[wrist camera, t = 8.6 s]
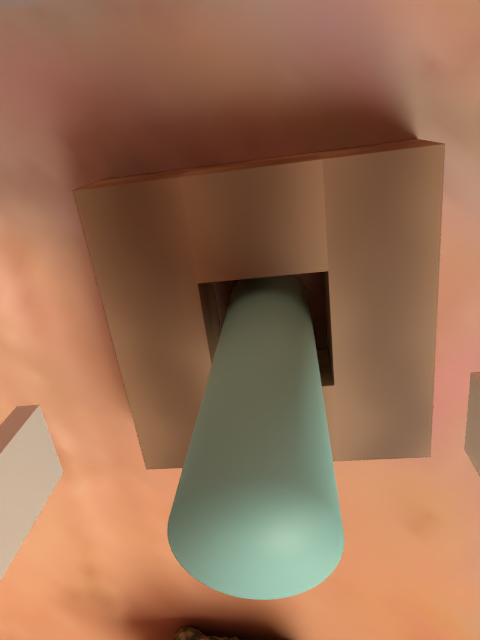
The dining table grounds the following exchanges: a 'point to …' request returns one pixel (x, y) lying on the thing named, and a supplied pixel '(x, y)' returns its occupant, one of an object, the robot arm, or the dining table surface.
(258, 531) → the long dowel
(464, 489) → the dining table surface
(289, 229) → the hole block
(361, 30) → the dining table surface
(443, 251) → the dining table surface
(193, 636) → the rock
